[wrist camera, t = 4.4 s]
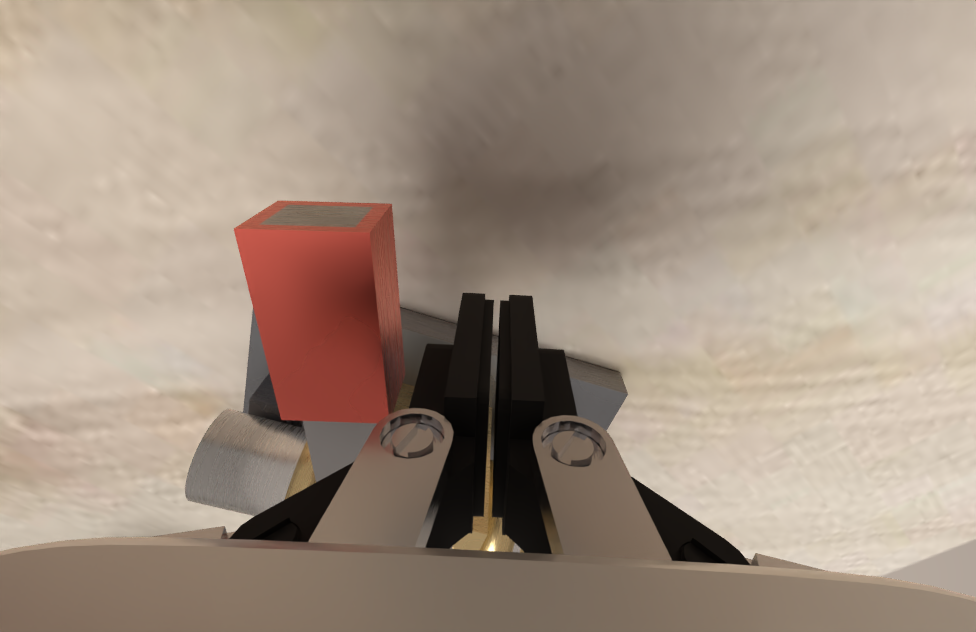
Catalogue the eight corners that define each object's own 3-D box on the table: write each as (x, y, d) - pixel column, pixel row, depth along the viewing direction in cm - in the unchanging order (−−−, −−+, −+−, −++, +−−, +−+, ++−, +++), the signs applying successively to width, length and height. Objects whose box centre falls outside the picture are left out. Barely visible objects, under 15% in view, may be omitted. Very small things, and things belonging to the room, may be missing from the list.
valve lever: (430, 601, 16) (420, 674, 14) (352, 598, 16) (331, 670, 14) (403, 201, 9) (378, 238, 7) (271, 198, 9) (213, 233, 7)
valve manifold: (272, 269, 19) (146, 385, 12) (620, 372, 21) (674, 521, 14) (252, 446, 23) (154, 599, 17) (537, 517, 25) (549, 680, 19)
